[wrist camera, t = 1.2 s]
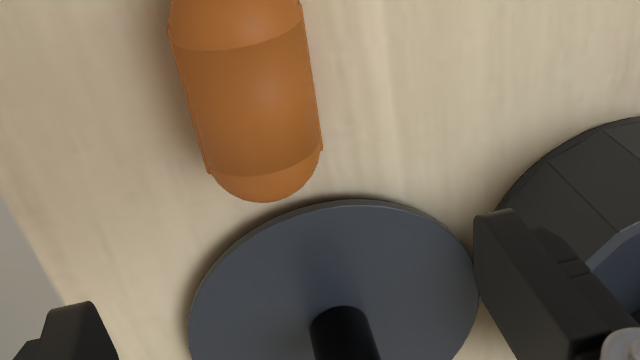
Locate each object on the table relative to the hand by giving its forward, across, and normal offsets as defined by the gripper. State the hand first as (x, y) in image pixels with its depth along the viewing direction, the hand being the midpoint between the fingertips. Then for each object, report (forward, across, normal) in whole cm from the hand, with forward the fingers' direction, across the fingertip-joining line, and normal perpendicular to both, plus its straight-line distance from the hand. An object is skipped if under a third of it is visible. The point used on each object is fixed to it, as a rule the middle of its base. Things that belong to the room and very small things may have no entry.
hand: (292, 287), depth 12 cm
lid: (+12, -2, +14) cm, 18 cm away
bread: (+12, 0, 0) cm, 13 cm away
